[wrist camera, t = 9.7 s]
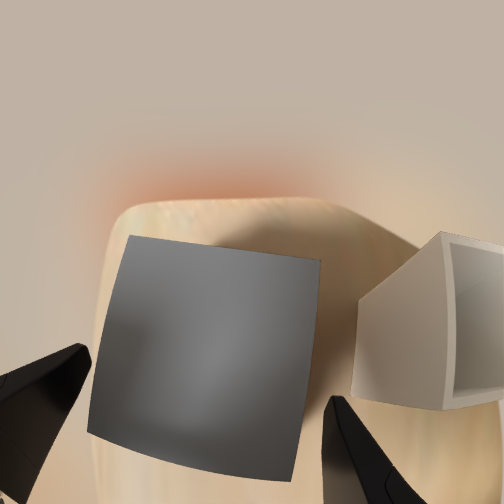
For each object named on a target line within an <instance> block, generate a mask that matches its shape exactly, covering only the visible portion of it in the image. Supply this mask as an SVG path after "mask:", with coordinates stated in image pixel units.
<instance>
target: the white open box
mask: <svg viewBox="0 0 504 504" xmlns="http://www.w3.org/2000/svg"><path fill="white" fill-rule="evenodd" d="M350 396H353V397H357V398H362V399H367V400H372V401H377V402H383V403H389V404H394V405H401V406H407V407H414V408H421V409H429V410H438V411H445V410H452V409H458V408H464V407H469V406H475V405H479V404H484V403H489V402H493V401H497V400H501V399H504V246H500V245H497V244H492V243H488V242H484V241H480V240H476V239H472V238H468V237H464V236H459V235H455V234H450V233H446V232H441V231H440V232H439V233H438V234H437V235H436V236H434V237H433V238H432V239H431V240H430V241H429V242H428V243H427V244H426V245H425V246H423V247H422V248H421V249H420V250H419V251H418V252H417V253H416V254H414V255H413V256H412V257H411V258H410V259H409V260H408V261H406V262H405V263H404V264H403V265H402V266H400V267H399V268H398V269H397V270H396V271H394V272H393V273H392V274H391V275H390V276H388V277H387V278H386V279H385V280H384V281H382V282H381V283H380V284H379V285H377V286H376V287H375V288H373V289H372V290H371V291H370V292H368V293H367V294H366V295H365V296H363V297H362V298H361V299H359V300H358V319H357V334H356V346H355V357H354V367H353V376H352V384H351V392H350Z"/></svg>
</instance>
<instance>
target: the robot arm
mask: <svg viewBox="0 0 504 504" xmlns="http://www.w3.org/2000/svg"><path fill="white" fill-rule="evenodd" d="M91 365H92V360H91V357H90V354H89V350H88V348H87V346H86V345H83V344H80V343H76V344H74V345H71V346H69V347H67V348H65V349H62V350H60V351H57V352H56V353H53V354H51V355H48V356H46V357H44V358H41V359H39V360H37V361H34V362H32V363H30V364H27V365H25V366H23V367H20V368H18V369H16V370H13V371H11V372H9V373H6V374H4V375H1V376H0V504H4V501H3V499H2V498H1V497H2V495H3V493H5V494H6V495H7V496H9V497H10V498H11V499H13V500H14V501H15V502H17V503H18V504H26V503H27V500H28V497H29V495H30V493H31V491H32V488H33V486H34V483H35V481H36V479H37V477H38V475H39V473H40V470H41V468H42V466H43V464H44V461H45V459H46V457H47V455H48V453H49V451H50V449H51V447H52V445H53V443H54V441H55V439H56V437H57V435H58V433H59V431H60V429H61V427H62V425H63V423H64V422H65V420H66V418H67V416H68V414H69V412H70V410H71V408H72V407H73V405H74V403H75V401H76V399H77V397H78V395H79V393H80V391H81V389H82V386H83V384H84V382H85V379H86V377H87V375H88V373H89V370H90V368H91ZM321 455H322V475H323V499H324V504H427V503H426V502H425V501H424V500H423V499H422V498H421V497H420V496H419V495H418V494H417V493H416V492H415V491H414V490H413V489H412V488H411V487H410V485H409V484H408V483H407V482H406V481H405V480H404V478H403V477H402V476H401V474H400V473H399V472H398V471H397V469H396V468H395V466H393V464H392V463H391V461H390V460H389V458H388V457H387V456H386V454H385V453H384V452H383V450H382V449H381V448H380V446H379V445H378V443H377V442H376V441H375V439H374V438H373V437H372V435H371V434H370V432H369V431H368V430H367V428H366V427H365V426H364V424H363V423H362V421H361V420H360V419H359V417H358V416H357V415H356V413H355V412H354V410H353V409H352V408H351V406H350V405H349V403H348V402H347V401H346V399H345V398H344V397H343V396H335V395H333V396H331V397H330V399H329V401H328V403H327V406H326V408H325V410H324V416H323V434H322V450H321Z"/></svg>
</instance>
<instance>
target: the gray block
mask: <svg viewBox="0 0 504 504" xmlns="http://www.w3.org/2000/svg"><path fill="white" fill-rule="evenodd" d="M320 263H321V260H314V259H306V258H299V257H291V256H284V255H276V254H269V253H261V252H254V251H246V250H239V249H231V248H224V247H216V246H209V245H201V244H194V243H186V242H179V241H171V240H164V239H156V238H149V237H141V236H134V235H129V238H128V241H127V244H126V248H125V251H124V254H123V257H122V260H121V264H120V267H119V270H118V274H117V277H116V281H115V284H114V288H113V291H112V295H111V299H110V303H109V307H108V311H107V315H106V319H105V323H104V328H103V332H102V337H101V342H100V347H99V352H98V357H97V362H96V368H95V374H94V380H93V386H92V393H91V400H90V408H89V417H88V427H87V432H88V433H91V434H93V435H95V436H97V437H100V438H102V439H104V440H107V441H109V442H112V443H114V444H117V445H119V446H122V447H124V448H127V449H130V450H133V451H136V452H138V453H141V454H144V455H147V456H150V457H154V458H157V459H160V460H164V461H167V462H171V463H174V464H178V465H182V466H186V467H190V468H194V469H199V470H203V471H208V472H213V473H219V474H224V475H230V476H236V477H243V478H251V479H260V480H270V481H283V482H291V479H292V474H293V469H294V464H295V459H296V454H297V449H298V444H299V438H300V433H301V427H302V421H303V415H304V409H305V403H306V396H307V389H308V382H309V375H310V368H311V360H312V351H313V343H314V334H315V324H316V314H317V303H318V291H319V278H320Z"/></svg>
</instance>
